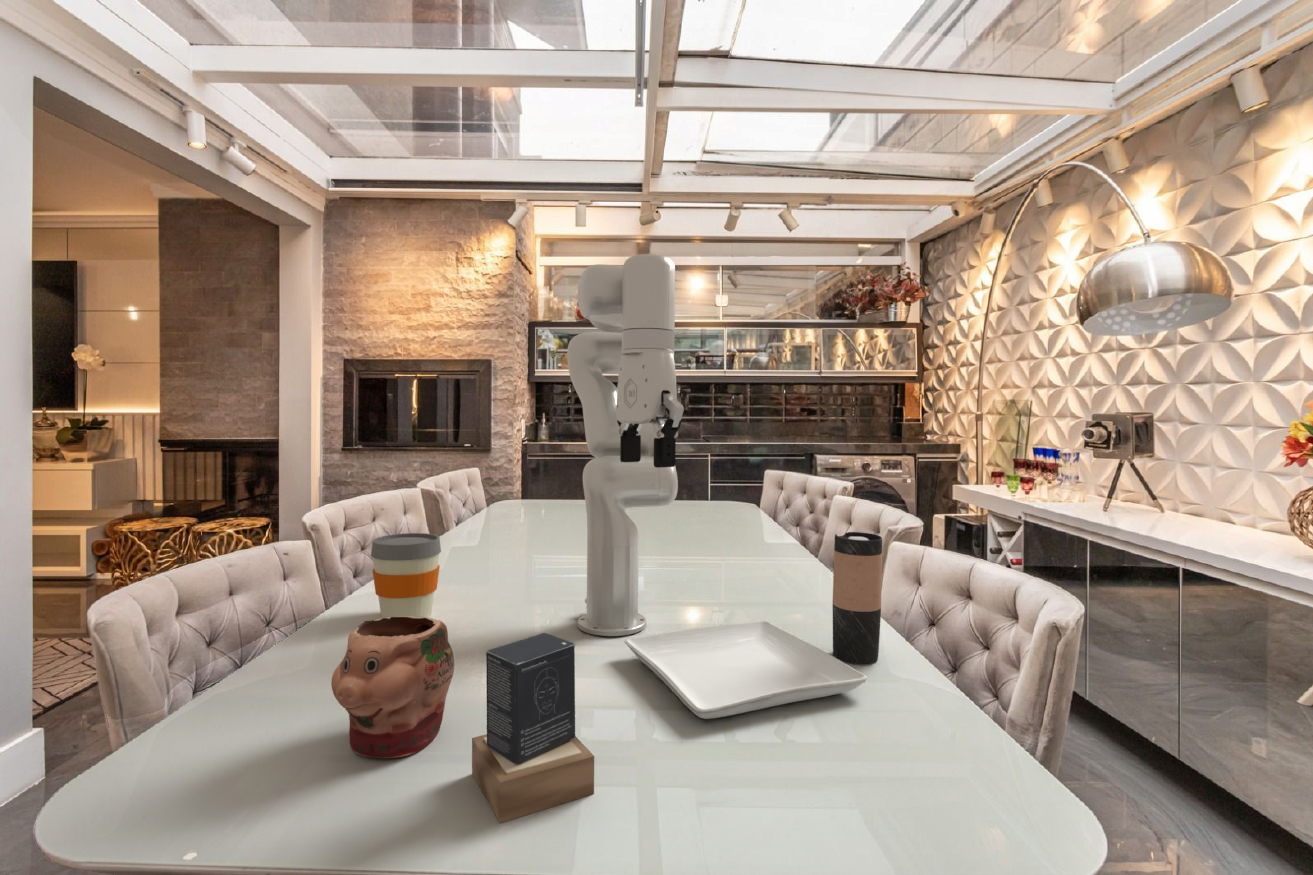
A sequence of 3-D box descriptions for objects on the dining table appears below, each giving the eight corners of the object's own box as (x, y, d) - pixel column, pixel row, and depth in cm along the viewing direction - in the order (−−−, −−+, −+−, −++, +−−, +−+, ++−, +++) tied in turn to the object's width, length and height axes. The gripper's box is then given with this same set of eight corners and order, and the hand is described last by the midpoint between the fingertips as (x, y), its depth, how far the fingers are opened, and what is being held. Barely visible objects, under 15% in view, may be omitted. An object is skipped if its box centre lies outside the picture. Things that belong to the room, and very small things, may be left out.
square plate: (621, 660, 107) (622, 636, 107) (765, 639, 118) (766, 617, 117) (697, 736, 82) (697, 706, 82) (871, 701, 93) (871, 674, 93)
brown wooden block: (471, 773, 72) (471, 736, 72) (557, 750, 77) (557, 715, 77) (500, 823, 64) (500, 780, 64) (594, 793, 69) (594, 754, 69)
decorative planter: (397, 696, 92) (396, 597, 91) (481, 702, 90) (481, 601, 89) (302, 774, 72) (301, 648, 71) (408, 784, 70) (408, 655, 70)
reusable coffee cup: (440, 604, 135) (440, 531, 134) (441, 623, 123) (441, 543, 122) (374, 609, 131) (373, 534, 130) (367, 629, 119) (367, 547, 118)
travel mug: (882, 667, 104) (886, 541, 103) (832, 663, 105) (835, 539, 105) (876, 650, 111) (879, 533, 111) (829, 646, 113) (832, 530, 112)
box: (544, 722, 75) (544, 631, 75) (576, 739, 72) (577, 643, 71) (484, 747, 70) (484, 648, 69) (516, 767, 66) (516, 663, 65)
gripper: (597, 347, 100) (596, 460, 100) (656, 337, 85) (654, 470, 85) (641, 350, 103) (639, 459, 104) (704, 341, 89) (702, 468, 89)
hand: (646, 464), depth 95 cm, fingers open, 9 cm apart
